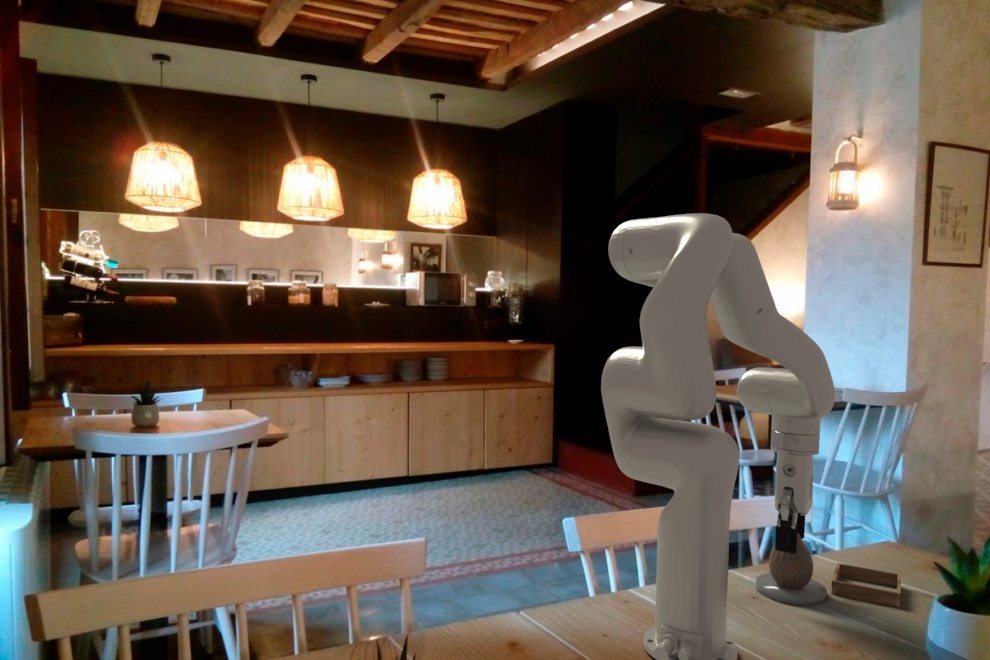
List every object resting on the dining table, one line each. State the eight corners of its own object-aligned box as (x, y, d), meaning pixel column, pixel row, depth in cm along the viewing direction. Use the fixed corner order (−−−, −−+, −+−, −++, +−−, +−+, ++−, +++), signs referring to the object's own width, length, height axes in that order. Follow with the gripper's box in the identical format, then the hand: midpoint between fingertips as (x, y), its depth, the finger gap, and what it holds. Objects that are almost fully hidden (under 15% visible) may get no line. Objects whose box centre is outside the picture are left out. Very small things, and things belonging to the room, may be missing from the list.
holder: (899, 607, 113) (900, 594, 113) (831, 593, 118) (831, 580, 118) (900, 586, 122) (900, 574, 122) (836, 574, 127) (837, 562, 127)
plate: (822, 611, 111) (823, 603, 111) (750, 595, 117) (750, 588, 117) (829, 588, 121) (829, 581, 121) (762, 574, 126) (762, 568, 126)
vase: (817, 595, 115) (818, 541, 114) (772, 591, 116) (774, 538, 116) (807, 579, 121) (808, 529, 121) (765, 575, 123) (766, 525, 122)
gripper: (813, 452, 108) (808, 562, 109) (824, 439, 123) (820, 536, 124) (762, 446, 112) (757, 553, 112) (779, 434, 127) (774, 528, 127)
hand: (790, 544), depth 118 cm, fingers open, 9 cm apart
